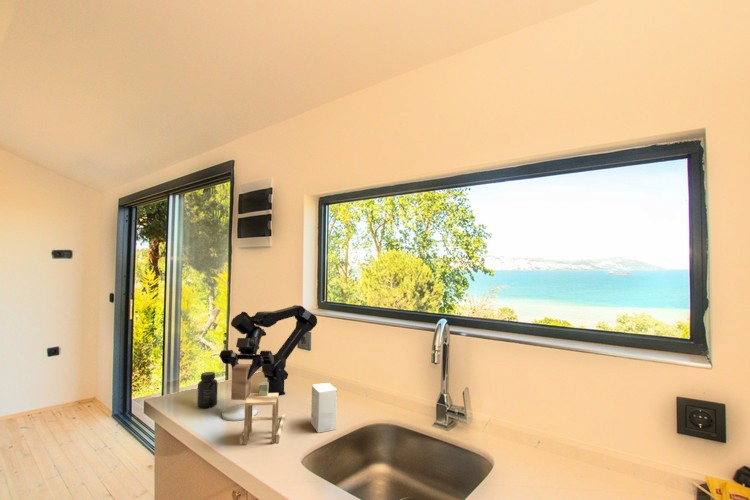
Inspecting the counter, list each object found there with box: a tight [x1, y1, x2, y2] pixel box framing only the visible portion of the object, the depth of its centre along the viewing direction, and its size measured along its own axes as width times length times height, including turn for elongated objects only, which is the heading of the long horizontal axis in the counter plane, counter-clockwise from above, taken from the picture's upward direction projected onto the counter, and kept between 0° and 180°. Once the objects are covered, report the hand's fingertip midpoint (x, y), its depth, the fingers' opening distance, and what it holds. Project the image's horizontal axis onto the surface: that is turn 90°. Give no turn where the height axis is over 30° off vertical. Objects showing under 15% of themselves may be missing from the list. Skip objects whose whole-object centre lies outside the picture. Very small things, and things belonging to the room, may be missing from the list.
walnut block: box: [230, 363, 252, 401], centre depth 131 cm, size 5×5×11 cm
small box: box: [310, 382, 338, 434], centre depth 123 cm, size 8×6×13 cm
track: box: [239, 414, 286, 446], centre depth 119 cm, size 18×11×2 cm, turn 8°
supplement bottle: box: [196, 371, 219, 410], centre depth 138 cm, size 7×7×12 cm
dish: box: [221, 403, 259, 422], centre depth 131 cm, size 12×12×1 cm
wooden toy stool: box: [243, 381, 280, 445], centre depth 114 cm, size 8×9×16 cm
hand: (240, 378), depth 130 cm, fingers closed on walnut block, 5 cm apart
